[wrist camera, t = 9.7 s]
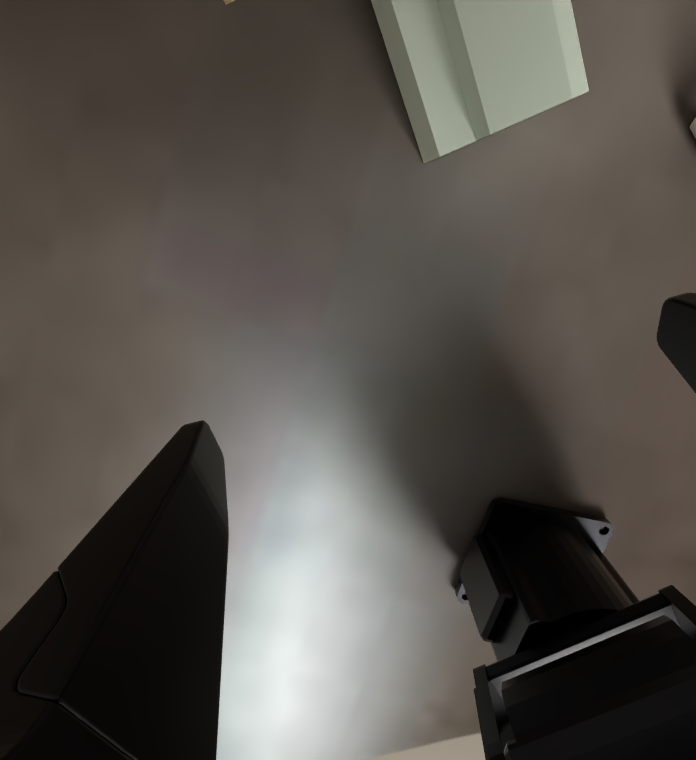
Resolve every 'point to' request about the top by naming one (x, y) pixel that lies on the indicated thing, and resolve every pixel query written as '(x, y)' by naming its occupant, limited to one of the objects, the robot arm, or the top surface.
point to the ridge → (479, 64)
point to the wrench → (693, 127)
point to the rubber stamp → (228, 1)
